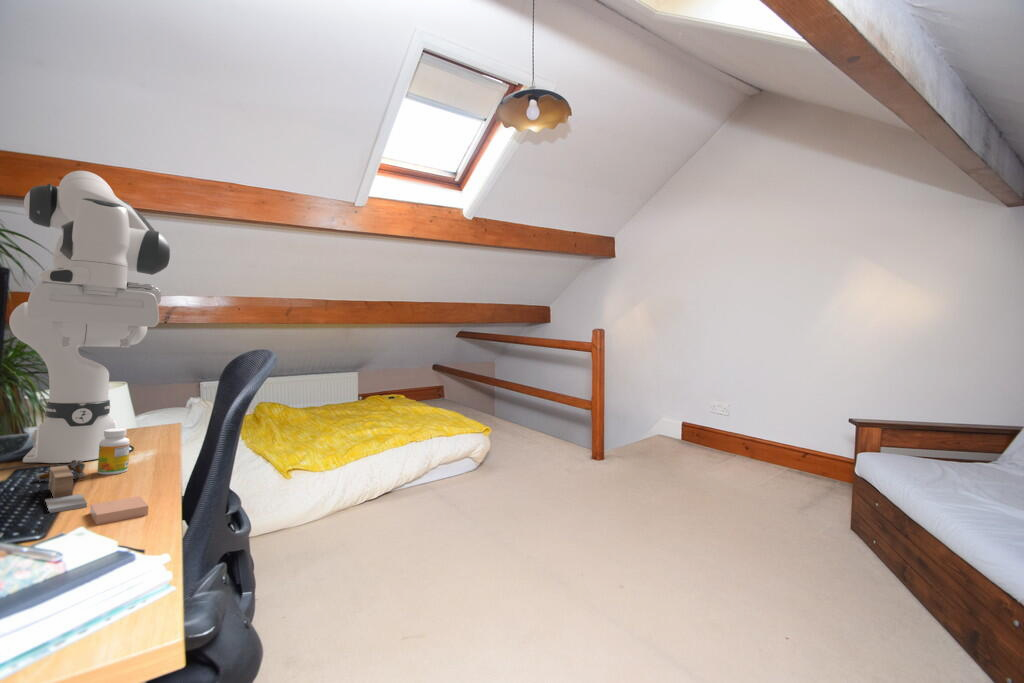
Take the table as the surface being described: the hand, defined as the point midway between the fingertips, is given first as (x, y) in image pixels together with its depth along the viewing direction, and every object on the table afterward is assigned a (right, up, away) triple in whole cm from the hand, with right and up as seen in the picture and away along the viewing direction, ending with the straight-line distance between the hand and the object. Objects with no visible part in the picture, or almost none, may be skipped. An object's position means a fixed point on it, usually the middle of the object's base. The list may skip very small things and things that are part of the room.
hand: (95, 346), depth 96 cm
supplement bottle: (-7, -29, +13) cm, 33 cm away
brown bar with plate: (-2, -29, -5) cm, 30 cm away
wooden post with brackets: (-12, -29, +5) cm, 32 cm away
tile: (+12, -29, -9) cm, 33 cm away
